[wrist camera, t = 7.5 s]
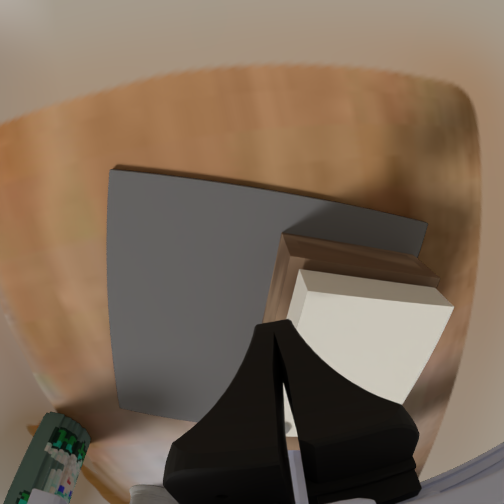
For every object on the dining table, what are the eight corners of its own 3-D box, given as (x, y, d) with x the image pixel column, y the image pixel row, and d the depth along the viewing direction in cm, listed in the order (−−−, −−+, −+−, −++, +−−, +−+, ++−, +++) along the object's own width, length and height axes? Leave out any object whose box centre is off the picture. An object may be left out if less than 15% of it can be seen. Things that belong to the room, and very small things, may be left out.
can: (96, 447, 30) (66, 547, 16) (57, 439, 30) (22, 529, 16) (78, 417, 28) (36, 527, 14) (37, 408, 28) (-10, 505, 14)
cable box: (345, 411, 27) (356, 448, 23) (242, 407, 26) (242, 448, 22) (412, 254, 21) (445, 282, 17) (281, 232, 21) (292, 260, 16)
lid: (373, 410, 22) (383, 434, 19) (260, 409, 21) (262, 437, 18) (434, 287, 18) (455, 308, 15) (299, 268, 17) (308, 292, 14)
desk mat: (338, 426, 29) (339, 429, 28) (120, 404, 27) (119, 407, 26) (425, 222, 21) (428, 223, 21) (112, 169, 19) (109, 169, 19)
